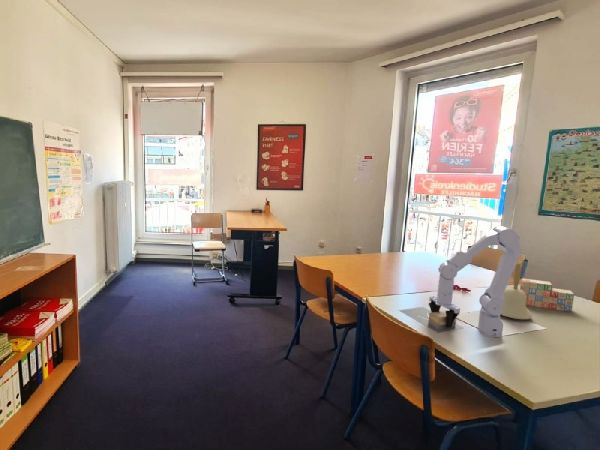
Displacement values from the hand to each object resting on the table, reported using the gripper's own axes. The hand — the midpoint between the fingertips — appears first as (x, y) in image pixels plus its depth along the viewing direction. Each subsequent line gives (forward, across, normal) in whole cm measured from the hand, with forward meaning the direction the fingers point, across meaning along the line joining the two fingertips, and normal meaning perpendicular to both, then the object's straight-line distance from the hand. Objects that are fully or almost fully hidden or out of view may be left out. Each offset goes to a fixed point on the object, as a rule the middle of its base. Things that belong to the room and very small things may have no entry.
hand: (442, 323), depth 144 cm
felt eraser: (+1, 0, 0) cm, 1 cm away
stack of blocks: (+2, -3, +71) cm, 72 cm away
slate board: (+2, -7, 0) cm, 7 cm away
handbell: (+2, 0, +43) cm, 43 cm away
